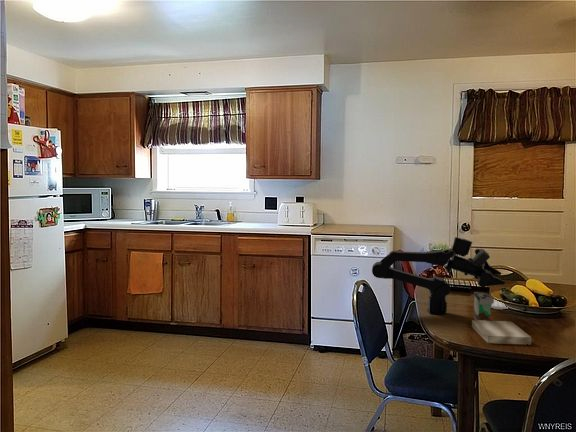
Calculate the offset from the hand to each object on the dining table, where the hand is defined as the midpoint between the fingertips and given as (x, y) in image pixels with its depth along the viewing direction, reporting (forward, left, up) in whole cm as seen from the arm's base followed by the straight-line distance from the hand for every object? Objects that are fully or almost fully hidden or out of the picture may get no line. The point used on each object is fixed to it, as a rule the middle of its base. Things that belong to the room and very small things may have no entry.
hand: (502, 278), depth 190 cm
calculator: (+5, +18, -16) cm, 24 cm away
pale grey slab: (-9, -24, -16) cm, 30 cm away
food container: (-9, -7, -16) cm, 19 cm away
